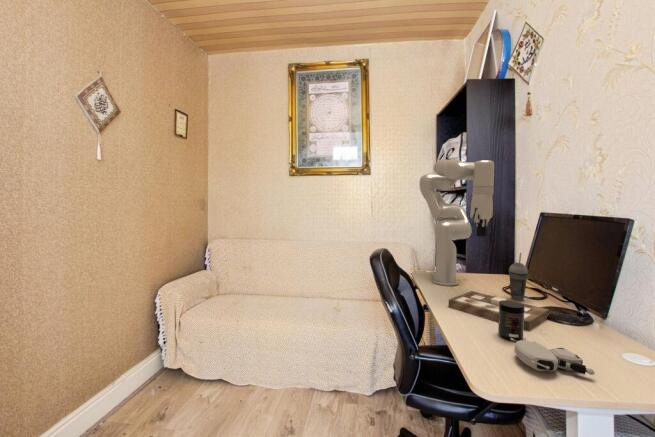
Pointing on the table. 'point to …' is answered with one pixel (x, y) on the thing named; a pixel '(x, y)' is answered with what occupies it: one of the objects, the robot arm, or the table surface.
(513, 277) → the beverage cup
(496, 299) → the middle button
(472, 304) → the button board
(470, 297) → the button
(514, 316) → the supplement container
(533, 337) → the table surface
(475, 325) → the table surface
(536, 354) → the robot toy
